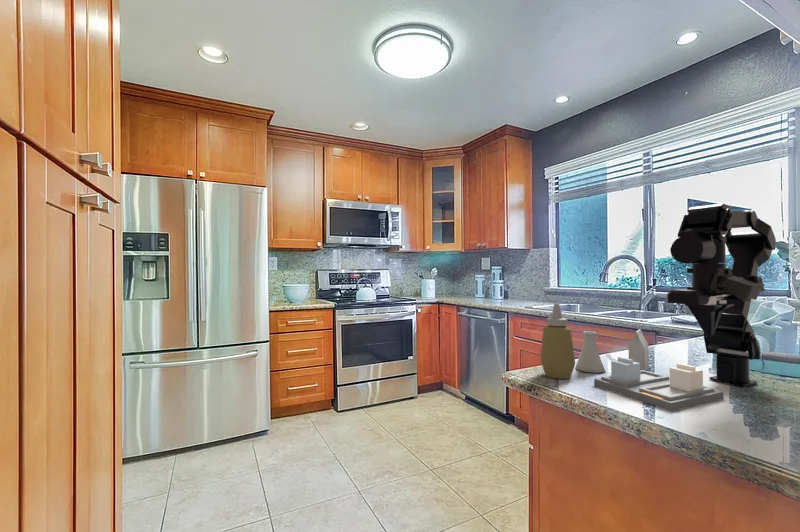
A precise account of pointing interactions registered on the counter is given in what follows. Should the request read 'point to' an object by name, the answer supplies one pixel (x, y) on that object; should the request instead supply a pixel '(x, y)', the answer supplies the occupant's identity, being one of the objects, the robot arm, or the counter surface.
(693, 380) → the tab ivory
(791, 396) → the counter surface
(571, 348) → the squeeze bottle
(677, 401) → the grey divided tray
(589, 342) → the flask
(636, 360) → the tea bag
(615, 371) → the tab blue
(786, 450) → the counter surface
